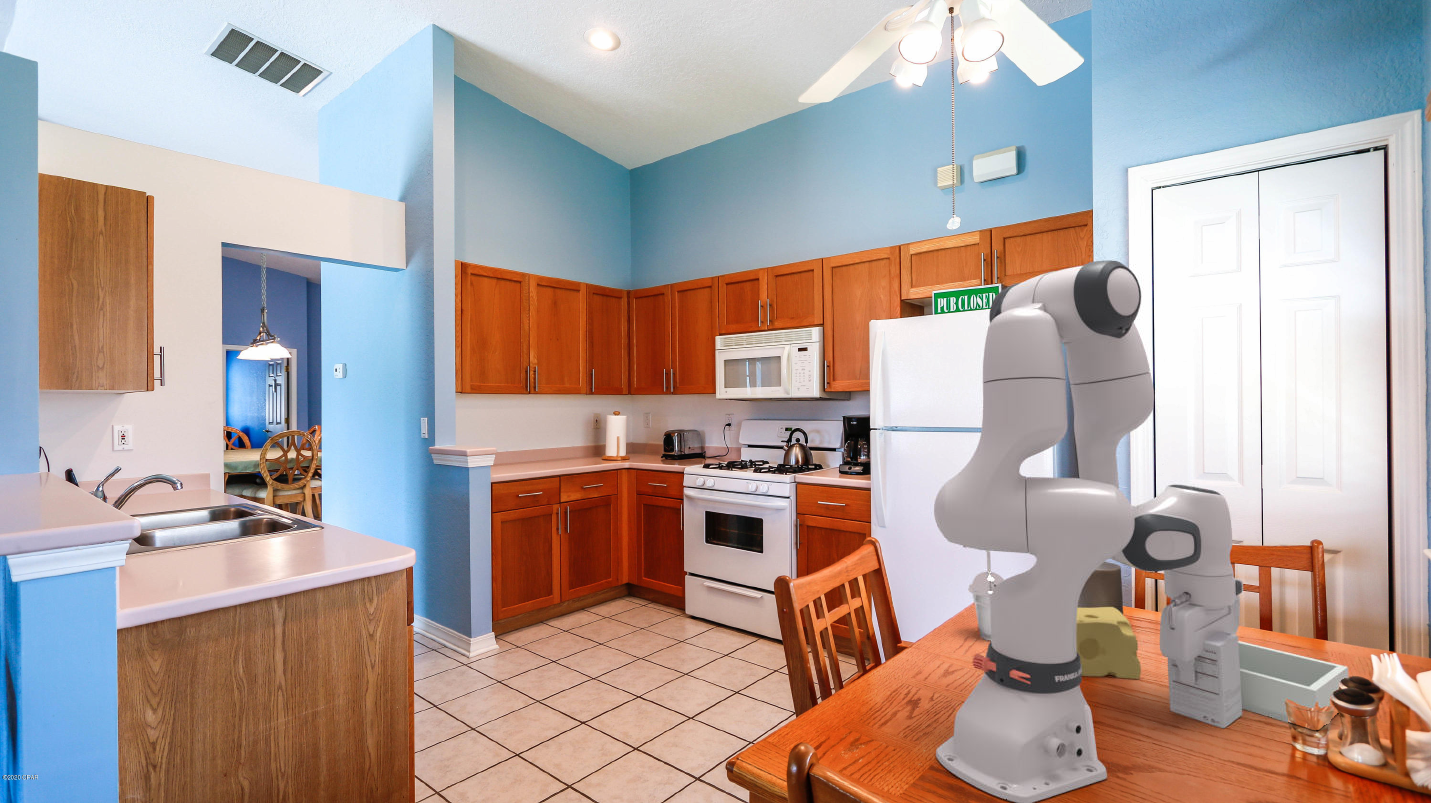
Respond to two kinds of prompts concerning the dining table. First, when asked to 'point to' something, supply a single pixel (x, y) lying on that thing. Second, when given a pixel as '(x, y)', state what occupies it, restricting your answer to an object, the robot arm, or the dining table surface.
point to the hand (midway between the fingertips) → (1201, 674)
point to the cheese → (1106, 643)
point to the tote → (1284, 680)
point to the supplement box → (1210, 683)
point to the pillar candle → (1103, 588)
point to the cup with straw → (984, 597)
